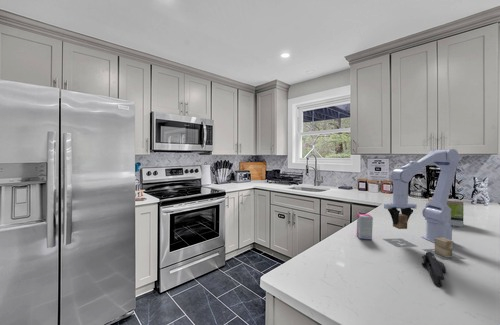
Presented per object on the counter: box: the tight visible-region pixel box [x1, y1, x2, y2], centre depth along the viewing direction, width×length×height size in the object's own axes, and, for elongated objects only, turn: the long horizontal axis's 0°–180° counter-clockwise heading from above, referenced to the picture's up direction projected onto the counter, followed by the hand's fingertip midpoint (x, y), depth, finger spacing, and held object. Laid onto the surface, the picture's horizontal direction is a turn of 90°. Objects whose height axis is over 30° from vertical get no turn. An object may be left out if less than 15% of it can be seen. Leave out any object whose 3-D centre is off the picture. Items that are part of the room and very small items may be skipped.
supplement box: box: [356, 213, 374, 241], centre depth 111 cm, size 6×6×12 cm
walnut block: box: [392, 213, 408, 230], centre depth 105 cm, size 4×4×6 cm
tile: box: [382, 237, 418, 248], centre depth 105 cm, size 10×10×1 cm
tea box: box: [428, 197, 464, 228], centre depth 137 cm, size 15×10×15 cm, turn 58°
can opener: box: [421, 252, 447, 288], centre depth 77 cm, size 18×7×6 cm, turn 147°
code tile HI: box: [422, 248, 466, 261], centre depth 93 cm, size 10×10×1 cm
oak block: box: [434, 238, 454, 256], centre depth 93 cm, size 4×4×6 cm
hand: (399, 223), depth 105 cm, fingers closed on walnut block, 4 cm apart
